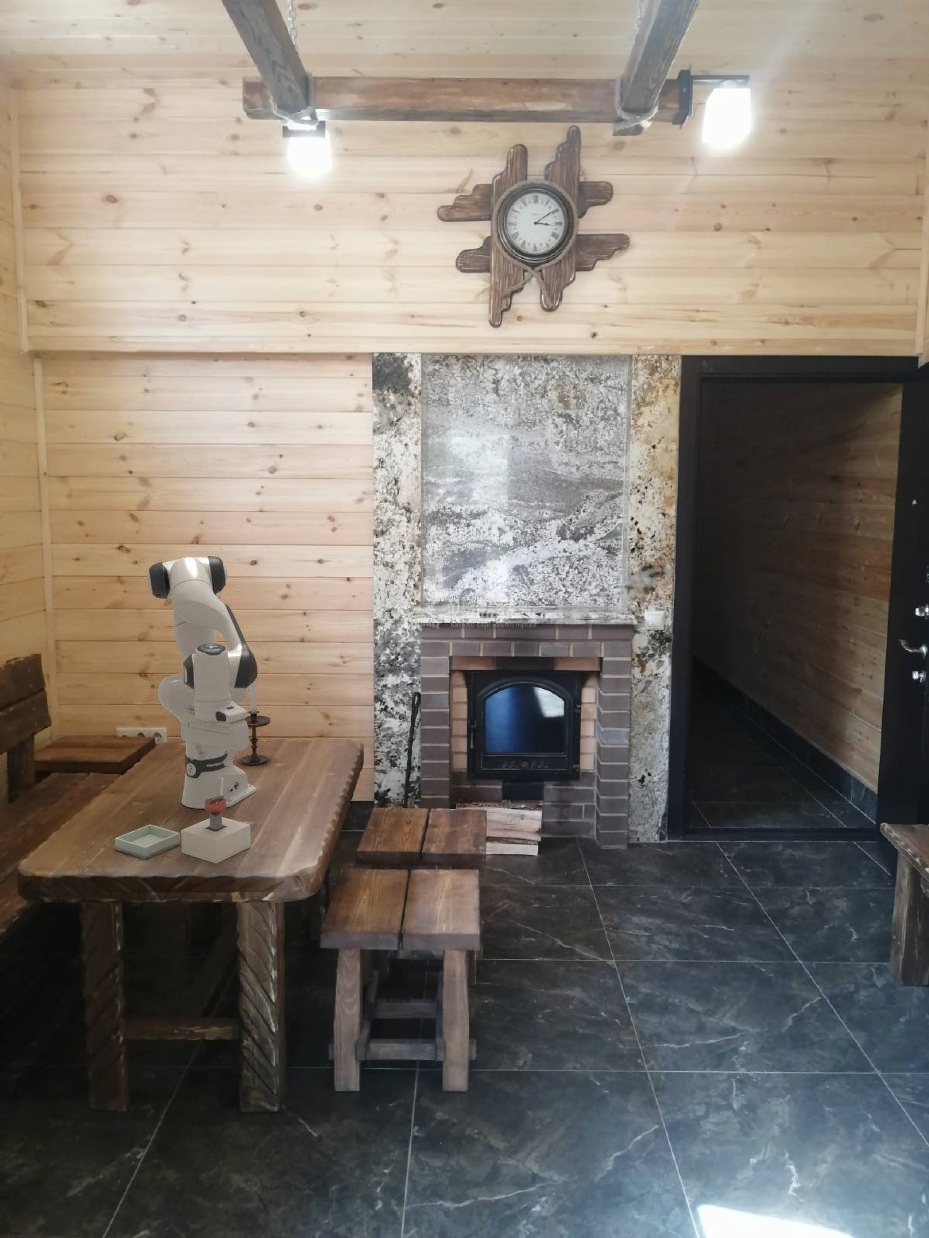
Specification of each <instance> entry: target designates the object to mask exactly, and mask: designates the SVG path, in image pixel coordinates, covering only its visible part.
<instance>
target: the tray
mask: <svg viewBox="0 0 929 1238" xmlns="http://www.w3.org/2000/svg"><path fill="white" fill-rule="evenodd" d="M179 845H181V832H178V831H174V830H171V829H168V828H165V827H161V826H157V825H153V824H147V825H145V826H141V827H139V828H138V829H135V830H132V831H130V832H127V833H125V834H122V835H119V836H118V837H114V848H115V849H114V850H116V851H118V852H122V853H125V854H128V855H131V856H133V857H136V858H141V859H143V860H148V859H149V858H153V857H154V856H158V855H159V854H161V853H163V852H166V851H168V850H170V849H173V848H175V847H178V846H179Z"/></svg>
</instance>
